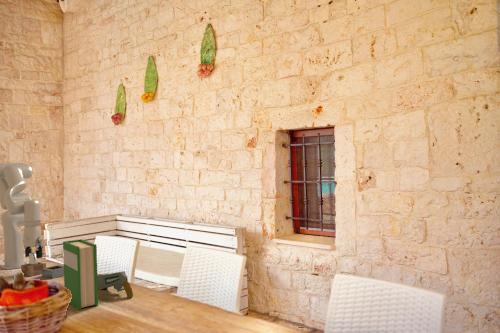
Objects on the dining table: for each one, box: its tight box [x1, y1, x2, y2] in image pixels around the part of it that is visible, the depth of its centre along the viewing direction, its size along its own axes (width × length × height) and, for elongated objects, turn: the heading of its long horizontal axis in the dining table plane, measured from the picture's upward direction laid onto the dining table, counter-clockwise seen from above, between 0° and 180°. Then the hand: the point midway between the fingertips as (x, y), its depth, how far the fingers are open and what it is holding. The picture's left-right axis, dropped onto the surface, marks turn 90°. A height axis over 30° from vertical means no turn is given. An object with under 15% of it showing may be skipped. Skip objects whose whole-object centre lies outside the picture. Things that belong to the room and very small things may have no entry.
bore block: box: [20, 261, 47, 278], centre depth 220 cm, size 8×8×5 cm
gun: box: [97, 271, 134, 299], centre depth 184 cm, size 3×25×15 cm, turn 49°
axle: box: [28, 251, 39, 266], centre depth 220 cm, size 4×4×11 cm
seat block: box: [41, 264, 64, 280], centre depth 215 cm, size 9×9×4 cm
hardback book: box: [62, 239, 99, 311], centre depth 170 cm, size 18×7×24 cm, turn 40°
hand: (33, 257), depth 220 cm, fingers open, 9 cm apart
